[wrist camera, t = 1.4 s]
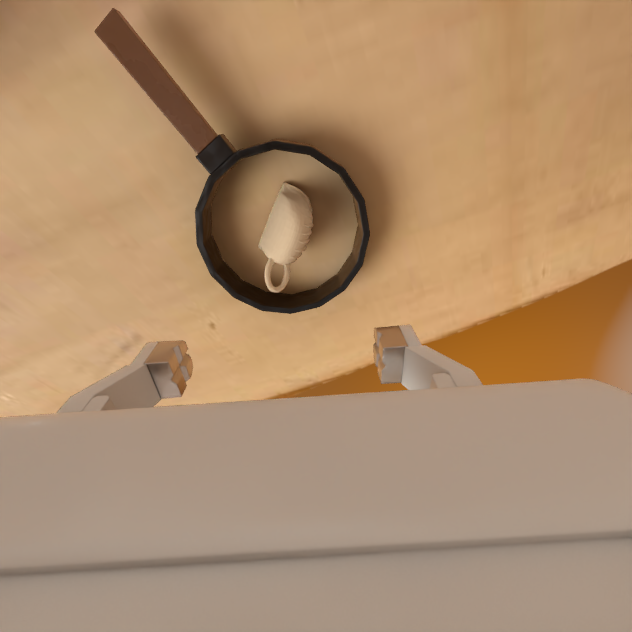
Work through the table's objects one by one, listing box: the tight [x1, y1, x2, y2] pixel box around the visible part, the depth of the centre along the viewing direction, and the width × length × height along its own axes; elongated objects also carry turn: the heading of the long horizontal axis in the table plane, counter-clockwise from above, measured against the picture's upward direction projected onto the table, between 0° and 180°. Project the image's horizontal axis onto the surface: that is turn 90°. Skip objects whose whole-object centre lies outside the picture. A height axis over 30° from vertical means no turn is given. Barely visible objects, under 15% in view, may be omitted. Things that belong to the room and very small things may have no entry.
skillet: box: [95, 8, 370, 314], centre depth 28 cm, size 26×15×3 cm, turn 37°
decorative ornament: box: [258, 182, 313, 293], centre depth 29 cm, size 4×8×5 cm, turn 152°
